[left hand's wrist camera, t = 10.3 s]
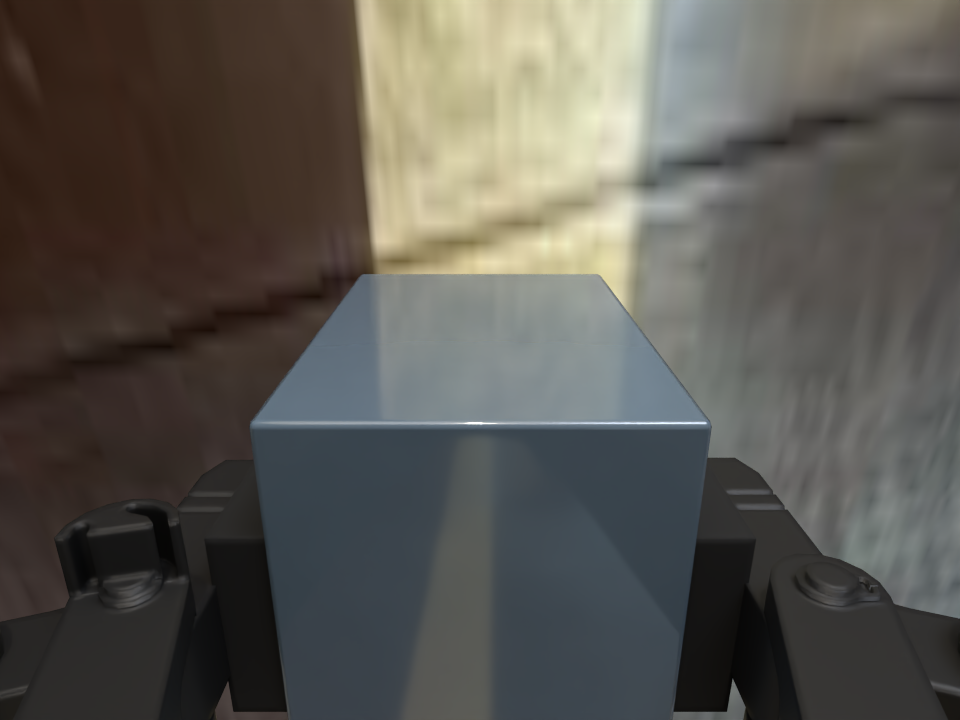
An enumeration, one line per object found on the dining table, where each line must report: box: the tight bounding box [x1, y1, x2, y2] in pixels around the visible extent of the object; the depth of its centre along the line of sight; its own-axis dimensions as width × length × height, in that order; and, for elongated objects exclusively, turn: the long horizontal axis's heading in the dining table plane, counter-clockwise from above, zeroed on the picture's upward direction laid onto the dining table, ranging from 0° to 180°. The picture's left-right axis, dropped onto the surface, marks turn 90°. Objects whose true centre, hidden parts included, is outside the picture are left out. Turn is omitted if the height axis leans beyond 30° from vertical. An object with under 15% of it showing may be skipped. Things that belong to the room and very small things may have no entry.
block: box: [249, 274, 712, 720], centre depth 11 cm, size 5×6×7 cm
